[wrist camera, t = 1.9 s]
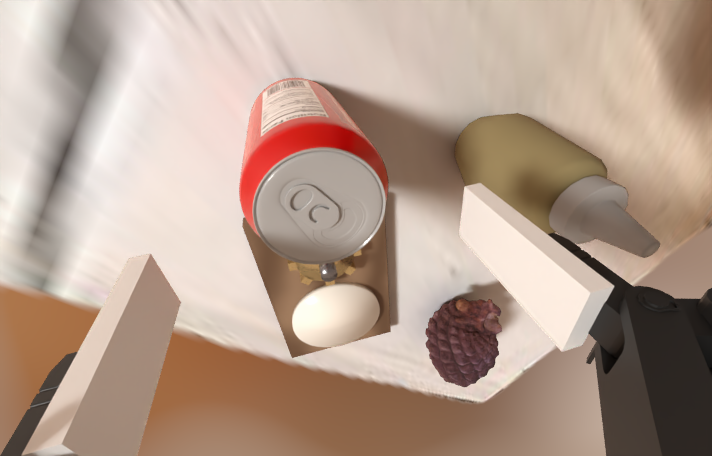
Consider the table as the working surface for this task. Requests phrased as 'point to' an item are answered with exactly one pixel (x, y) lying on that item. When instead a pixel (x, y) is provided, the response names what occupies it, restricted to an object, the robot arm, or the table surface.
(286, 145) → the soda can
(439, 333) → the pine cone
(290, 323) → the gear board
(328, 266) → the brass gear
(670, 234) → the table surface
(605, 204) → the squeeze bottle
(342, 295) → the ceramic plate
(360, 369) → the table surface
